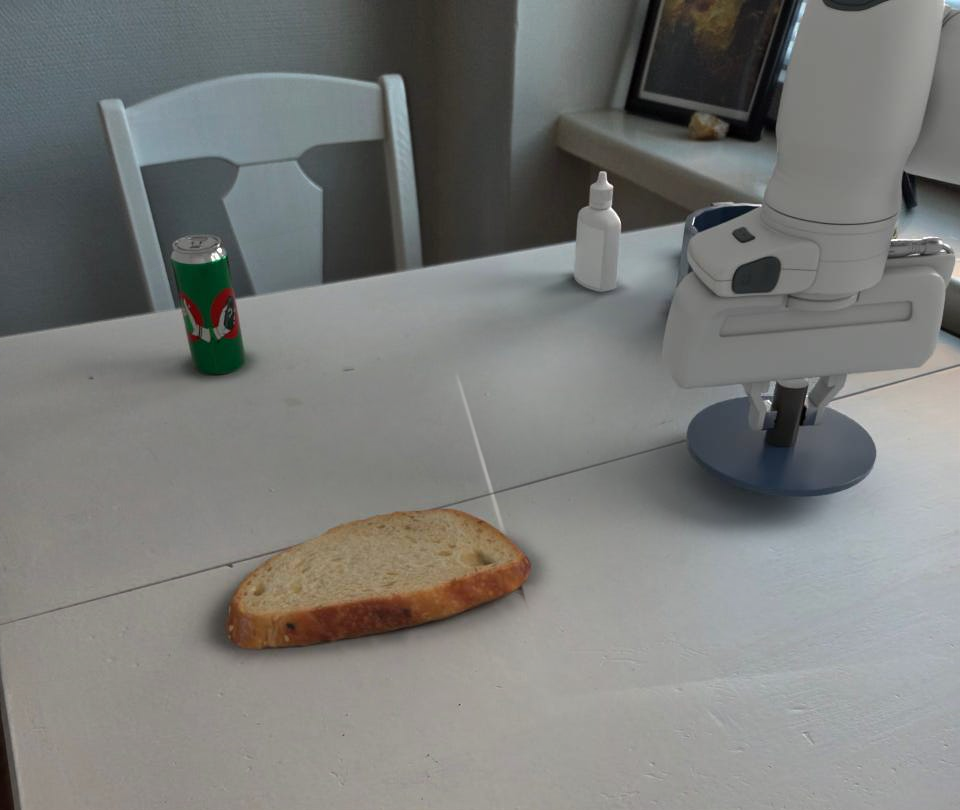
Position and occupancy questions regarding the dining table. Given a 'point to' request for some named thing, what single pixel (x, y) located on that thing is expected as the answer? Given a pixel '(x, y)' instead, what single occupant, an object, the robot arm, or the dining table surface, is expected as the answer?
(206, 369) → the soda can
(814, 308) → the robot arm
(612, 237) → the eye dropper bottle
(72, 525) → the dining table surface
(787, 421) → the lid
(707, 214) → the pot
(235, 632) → the bread slice
